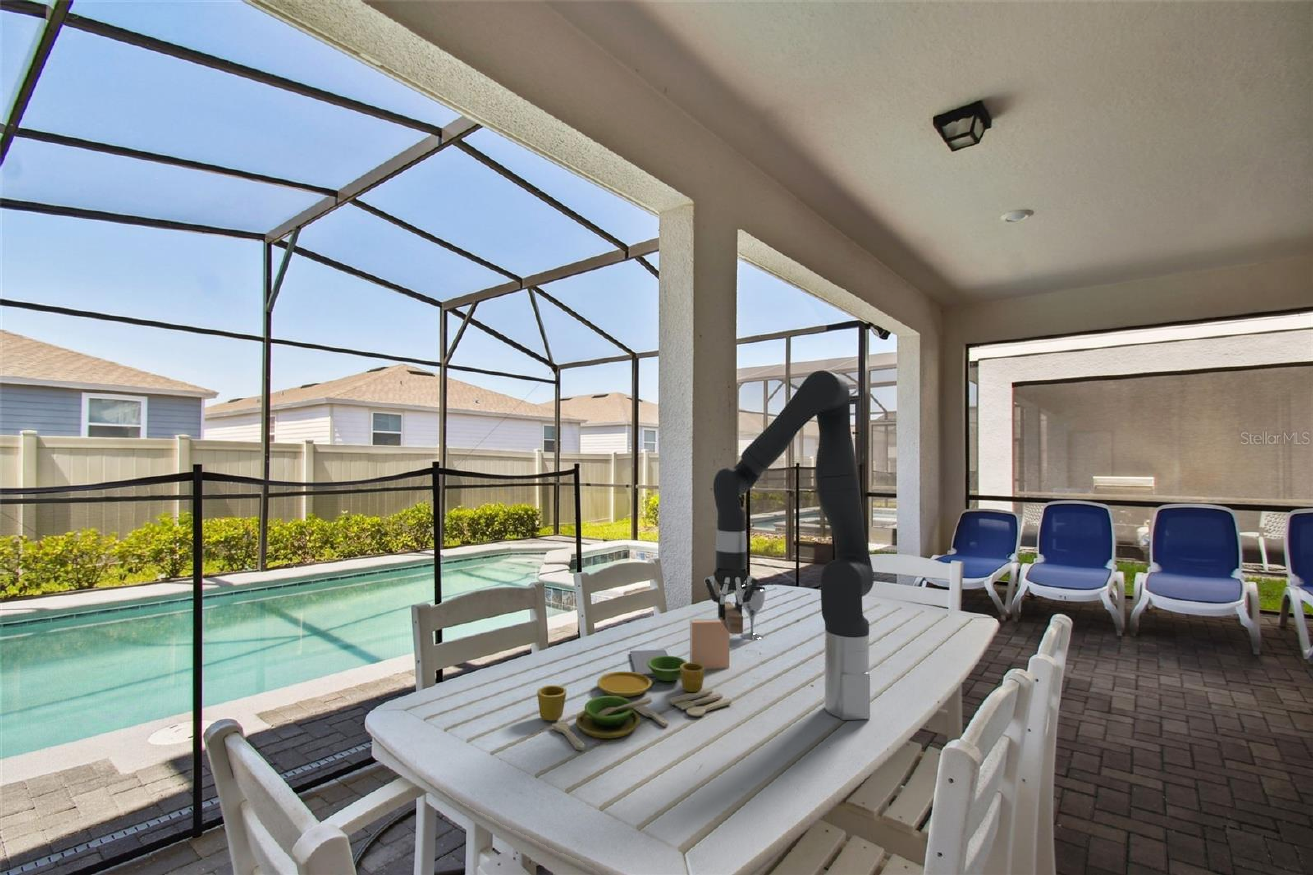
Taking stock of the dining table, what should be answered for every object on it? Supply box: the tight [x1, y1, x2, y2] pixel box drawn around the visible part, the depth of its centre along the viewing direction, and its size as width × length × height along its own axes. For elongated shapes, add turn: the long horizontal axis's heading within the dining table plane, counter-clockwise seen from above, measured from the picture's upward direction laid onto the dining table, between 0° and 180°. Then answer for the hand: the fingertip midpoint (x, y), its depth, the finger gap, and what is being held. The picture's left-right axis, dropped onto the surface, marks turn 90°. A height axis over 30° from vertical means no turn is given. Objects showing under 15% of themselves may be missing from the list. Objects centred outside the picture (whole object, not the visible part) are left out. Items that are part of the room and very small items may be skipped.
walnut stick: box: [717, 601, 744, 635], centre depth 145 cm, size 14×3×4 cm, turn 6°
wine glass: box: [739, 584, 766, 641], centre depth 183 cm, size 8×8×15 cm
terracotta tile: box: [689, 618, 731, 670], centre depth 155 cm, size 3×10×12 cm, turn 97°
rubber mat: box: [629, 649, 669, 678], centre depth 156 cm, size 18×10×1 cm, turn 7°
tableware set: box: [536, 655, 732, 751], centre depth 130 cm, size 41×28×6 cm
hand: (729, 618), depth 145 cm, fingers closed on walnut stick, 3 cm apart
